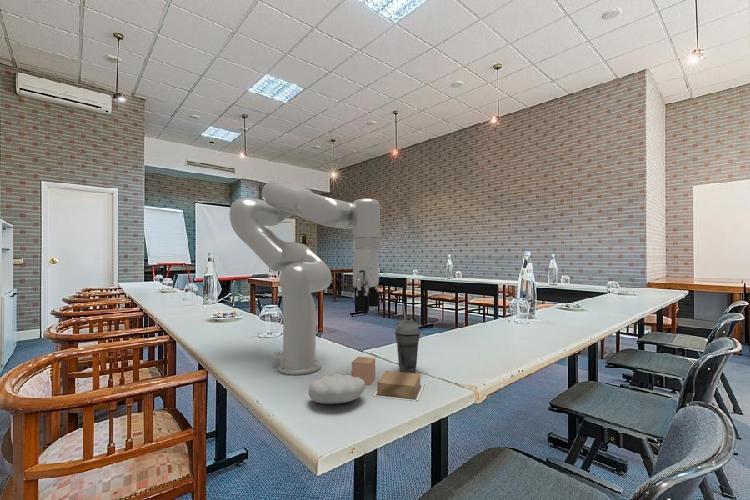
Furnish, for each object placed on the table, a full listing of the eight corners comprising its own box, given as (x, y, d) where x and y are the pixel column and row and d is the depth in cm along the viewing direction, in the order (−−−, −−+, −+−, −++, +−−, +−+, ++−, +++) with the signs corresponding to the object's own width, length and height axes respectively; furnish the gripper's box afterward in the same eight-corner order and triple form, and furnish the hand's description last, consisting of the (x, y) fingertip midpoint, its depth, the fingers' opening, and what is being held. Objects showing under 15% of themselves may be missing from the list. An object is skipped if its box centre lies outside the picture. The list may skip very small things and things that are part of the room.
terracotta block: (351, 384, 93) (351, 361, 93) (357, 378, 98) (357, 356, 98) (370, 386, 91) (370, 363, 92) (375, 380, 96) (375, 358, 96)
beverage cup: (419, 378, 97) (419, 305, 98) (393, 376, 99) (393, 304, 99) (421, 370, 104) (421, 302, 105) (396, 368, 106) (396, 301, 106)
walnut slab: (377, 395, 85) (377, 382, 85) (386, 382, 93) (386, 370, 93) (414, 399, 82) (414, 386, 82) (420, 385, 91) (420, 373, 91)
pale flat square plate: (372, 398, 84) (372, 396, 84) (383, 382, 95) (383, 380, 95) (418, 403, 81) (418, 401, 81) (424, 386, 92) (424, 384, 92)
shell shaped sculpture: (358, 418, 74) (358, 387, 74) (300, 414, 76) (300, 383, 76) (369, 394, 87) (369, 367, 87) (319, 391, 89) (319, 365, 89)
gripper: (362, 246, 105) (363, 304, 105) (342, 244, 88) (344, 313, 88) (387, 245, 103) (388, 304, 103) (371, 243, 87) (373, 314, 86)
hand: (368, 308), depth 95 cm, fingers open, 9 cm apart
